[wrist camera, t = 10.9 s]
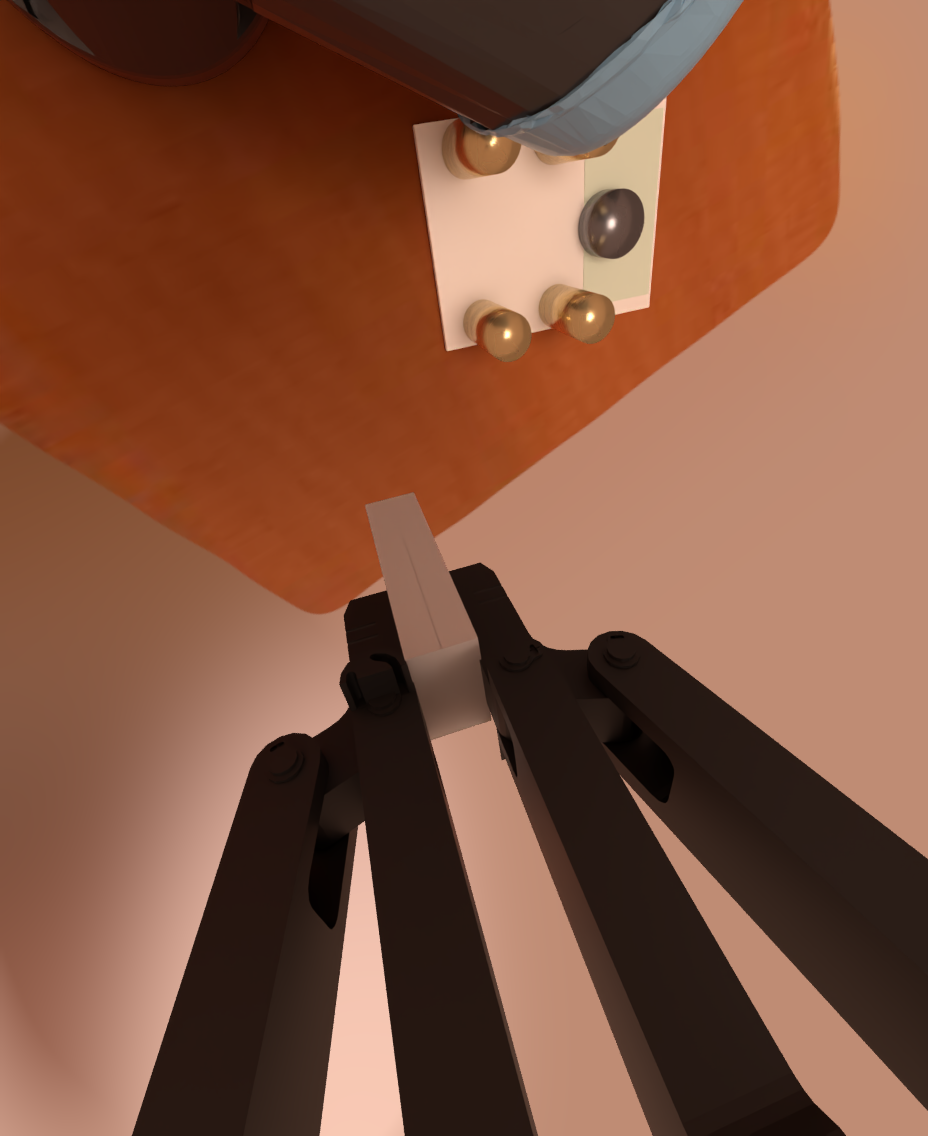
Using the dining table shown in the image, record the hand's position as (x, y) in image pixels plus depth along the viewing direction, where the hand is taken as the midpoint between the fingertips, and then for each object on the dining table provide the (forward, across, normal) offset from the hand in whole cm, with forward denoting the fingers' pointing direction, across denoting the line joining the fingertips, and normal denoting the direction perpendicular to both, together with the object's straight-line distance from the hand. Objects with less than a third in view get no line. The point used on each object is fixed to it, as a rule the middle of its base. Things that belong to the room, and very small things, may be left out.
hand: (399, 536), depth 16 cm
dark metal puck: (+26, +21, +5) cm, 33 cm away
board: (+26, +16, +5) cm, 32 cm away
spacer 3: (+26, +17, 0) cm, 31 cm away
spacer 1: (+26, +11, +10) cm, 30 cm away
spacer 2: (+26, +11, 0) cm, 28 cm away
